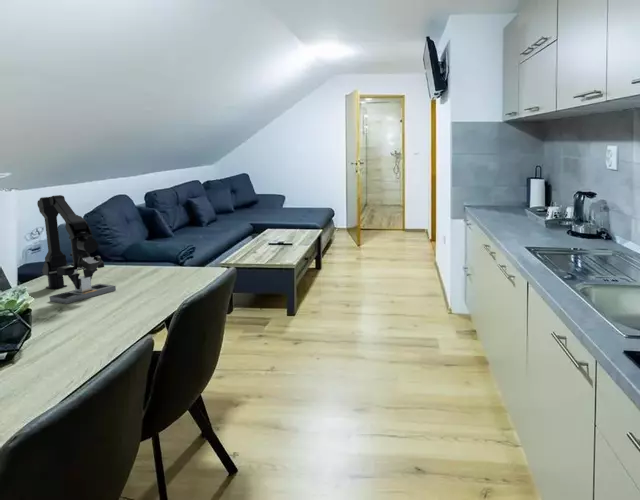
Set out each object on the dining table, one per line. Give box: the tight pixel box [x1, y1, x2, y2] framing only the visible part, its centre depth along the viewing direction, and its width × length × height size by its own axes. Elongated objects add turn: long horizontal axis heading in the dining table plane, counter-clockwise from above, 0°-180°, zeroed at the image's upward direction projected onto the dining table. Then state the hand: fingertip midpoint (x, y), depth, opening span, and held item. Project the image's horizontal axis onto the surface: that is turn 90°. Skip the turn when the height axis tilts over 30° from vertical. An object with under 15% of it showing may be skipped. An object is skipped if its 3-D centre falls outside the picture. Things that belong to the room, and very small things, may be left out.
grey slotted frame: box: [49, 283, 117, 305], centre depth 241 cm, size 10×24×2 cm, turn 149°
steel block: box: [74, 275, 92, 293], centre depth 240 cm, size 4×4×6 cm
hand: (83, 288), depth 240 cm, fingers closed on steel block, 4 cm apart
